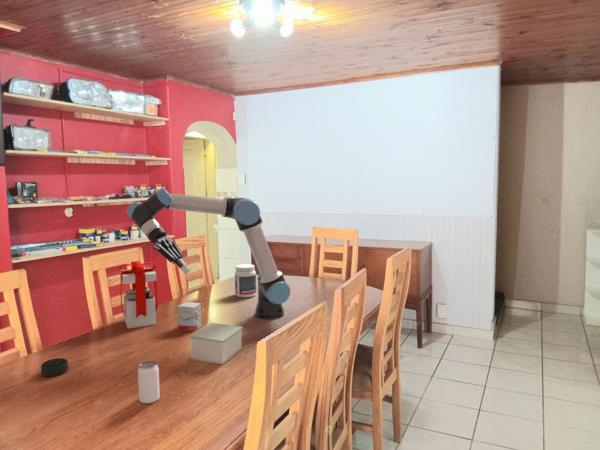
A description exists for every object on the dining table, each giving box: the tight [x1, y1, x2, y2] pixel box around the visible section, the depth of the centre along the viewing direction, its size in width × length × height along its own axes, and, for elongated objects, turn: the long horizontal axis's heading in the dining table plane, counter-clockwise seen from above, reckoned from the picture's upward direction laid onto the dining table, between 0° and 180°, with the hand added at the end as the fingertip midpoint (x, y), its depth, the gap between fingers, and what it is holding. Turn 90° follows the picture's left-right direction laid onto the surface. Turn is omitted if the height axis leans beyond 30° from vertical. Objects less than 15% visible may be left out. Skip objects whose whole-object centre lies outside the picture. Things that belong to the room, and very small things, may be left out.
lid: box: [189, 322, 243, 343], centre depth 183 cm, size 15×17×1 cm
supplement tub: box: [234, 263, 257, 299], centre depth 272 cm, size 13×13×18 cm
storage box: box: [190, 330, 242, 365], centre depth 183 cm, size 14×16×9 cm
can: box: [137, 360, 161, 405], centre depth 147 cm, size 6×6×12 cm
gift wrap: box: [118, 260, 158, 329], centre depth 222 cm, size 17×17×30 cm
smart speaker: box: [40, 357, 69, 377], centre depth 168 cm, size 9×9×4 cm
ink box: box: [177, 301, 202, 332], centre depth 215 cm, size 9×9×12 cm
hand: (188, 271), depth 192 cm, fingers closed
